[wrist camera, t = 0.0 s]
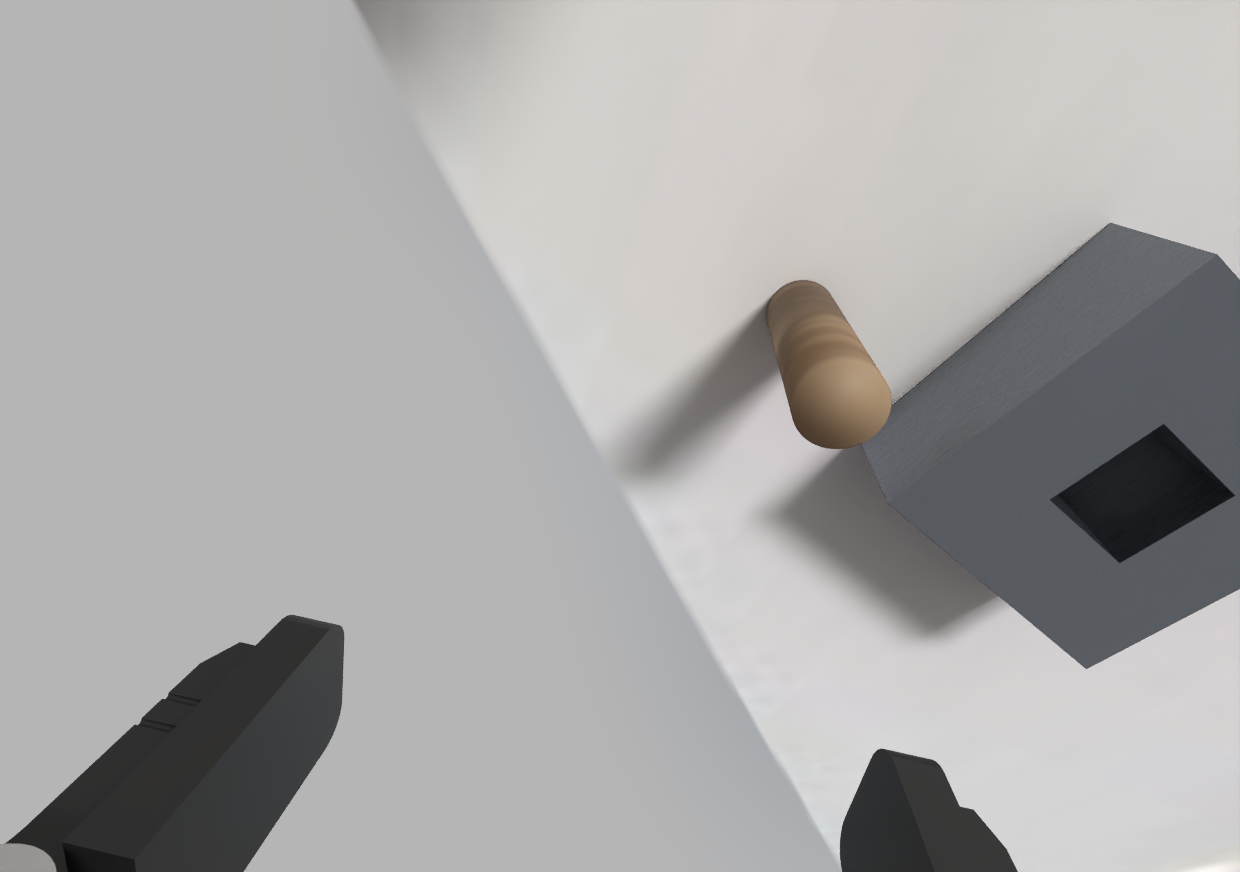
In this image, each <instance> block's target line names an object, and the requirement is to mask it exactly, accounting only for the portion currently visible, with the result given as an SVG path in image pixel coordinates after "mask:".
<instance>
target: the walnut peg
mask: <svg viewBox="0 0 1240 872" xmlns="http://www.w3.org/2000/svg"><path fill="white" fill-rule="evenodd" d="M766 319H767V324H768V328H769V332H770V335H771V339H772V343H773V347H774V350H775V354H776V358H777V362H778V365H779V369H780V373H781V377H782V381H783V384H784V388H785V392H786V396H787V399H788V403H789V407H790V411H791V414H792V418H793V421H794V424H795V426H796V428H797V430H798V431H799V432H800V434H801V435H802V436H803V437H804V438H805V439H807V440H808V441H809V442H811V443H813V444H815V445H818V446H820V447H824V448H830V449H844V448H849V447H853V446H856V445H859V444H861V443H864V442H865V441H867V440H869V439H870V438H872V437H873V436H874V435H875V434H876V433H877V432H879V430H880V429H881V428H882V427H883V425H884V424H885V422H886V421H887V419H888V417H889V414H890V411H891V405H892V398H891V392H890V389H889V386H888V384H887V382H886V381H885V379H884V378H883V376H882V375H881V373H880V371H879V370H878V368H877V367H876V365H875V364H874V362H873V360H872V359H871V357H870V356H869V354H868V353H867V351H866V349H865V348H864V346H863V345H862V343H861V342H860V340H859V338H858V337H857V335H856V334H855V332H854V331H853V329H852V327H851V326H850V324H849V323H848V321H847V320H846V318H845V316H844V315H843V313H842V312H841V310H840V309H839V307H838V305H837V304H836V302H835V301H834V299H833V298H832V296H831V294H830V293H829V292H828V290H827V289H826V288H824V287H823V286H822V285H820V284H818V283H816V282H813V281H808V280H799V281H794V282H791V283H788V284H786V285H785V286H783V287H782V288H780V289H779V290H778V291H777V292H776V293H775V294H774V295H773V297H772V298H771V300H770V302H769V304H768V307H767V312H766Z"/></svg>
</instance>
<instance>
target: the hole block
mask: <svg viewBox="0 0 1240 872" xmlns="http://www.w3.org/2000/svg"><path fill="white" fill-rule="evenodd" d="M861 445H862V447H863V449H864V451H865V454H866V456H867V458H868V460H869V463H870V465H871V467H872V469H873V472H874V474H875V476H876V478H877V481H878V483H879V485H880V487H881V489H882V492H883V494H884V496H885V498H886V501H887V503H888V504H889V505H890V506H891V507H893V508H894V509H895V510H896V511H897V512H899V513H900V514H901V515H902V516H903V517H905V518H906V519H907V520H908V521H909V522H911V523H912V524H913V525H914V526H915V527H917V528H918V529H919V530H920V531H921V532H923V533H924V534H925V535H926V536H927V537H929V538H930V539H931V540H932V541H933V542H935V543H936V544H937V545H938V546H939V547H941V548H942V549H943V550H944V551H945V552H947V553H948V554H949V555H950V556H951V557H953V558H954V559H955V560H956V561H957V562H959V563H960V564H961V565H962V566H963V567H965V568H966V569H967V570H968V571H969V572H971V573H972V574H973V575H974V576H975V577H976V578H978V579H979V580H980V581H981V582H982V583H984V584H985V585H986V586H987V587H988V588H990V589H991V590H992V591H993V592H994V593H996V594H997V595H998V596H999V597H1000V598H1002V599H1003V600H1004V601H1005V602H1006V603H1008V604H1009V605H1010V606H1011V607H1012V608H1014V609H1015V610H1016V611H1017V612H1018V613H1020V614H1021V615H1022V616H1023V617H1024V618H1026V619H1027V620H1028V621H1029V622H1030V623H1032V624H1033V625H1034V626H1035V627H1036V628H1038V629H1039V630H1040V631H1041V632H1042V633H1044V634H1045V635H1046V636H1047V637H1048V638H1050V639H1051V640H1052V641H1053V642H1054V643H1056V644H1057V645H1058V646H1059V647H1060V648H1062V649H1063V650H1064V651H1065V652H1066V653H1068V654H1069V655H1070V656H1071V657H1072V658H1074V659H1075V660H1076V661H1077V662H1078V663H1080V664H1081V665H1082V666H1083V667H1084V668H1086V669H1088V668H1089V667H1091V666H1093V665H1095V664H1097V663H1099V662H1101V661H1103V660H1105V659H1107V658H1109V657H1110V656H1112V655H1114V654H1116V653H1118V652H1120V651H1122V650H1124V649H1126V648H1128V647H1130V646H1132V645H1133V644H1135V643H1137V642H1139V641H1141V640H1143V639H1145V638H1147V637H1149V636H1151V635H1153V634H1154V633H1156V632H1158V631H1160V630H1162V629H1164V628H1166V627H1168V626H1170V625H1172V624H1174V623H1175V622H1177V621H1179V620H1181V619H1183V618H1185V617H1187V616H1189V615H1191V614H1193V613H1195V612H1197V611H1198V610H1200V609H1202V608H1204V607H1206V606H1208V605H1210V604H1212V603H1214V602H1216V601H1218V600H1219V599H1221V598H1223V597H1225V596H1227V595H1229V594H1231V593H1233V592H1235V591H1237V590H1239V589H1240V280H1239V278H1238V277H1237V276H1236V275H1235V274H1234V273H1233V272H1232V271H1231V269H1230V268H1229V267H1228V266H1227V265H1226V264H1225V263H1224V262H1223V260H1222V259H1221V258H1220V257H1219V256H1218V255H1217V254H1214V253H1211V252H1207V251H1204V250H1200V249H1197V248H1194V247H1190V246H1187V245H1184V244H1180V243H1177V242H1174V241H1170V240H1167V239H1163V238H1160V237H1157V236H1153V235H1150V234H1147V233H1143V232H1140V231H1136V230H1133V229H1130V228H1126V227H1123V226H1120V225H1116V224H1113V223H1110V224H1109V225H1108V226H1107V227H1105V228H1104V229H1103V230H1102V231H1101V232H1099V233H1098V234H1097V235H1096V236H1095V237H1093V238H1092V239H1091V240H1090V241H1089V242H1087V243H1086V244H1085V245H1084V246H1083V247H1082V248H1080V249H1079V250H1078V251H1077V252H1076V253H1074V254H1073V255H1072V256H1071V257H1070V258H1068V259H1067V260H1066V261H1065V262H1064V263H1062V264H1061V265H1060V266H1059V267H1058V268H1056V269H1055V270H1054V271H1053V272H1052V273H1050V274H1049V275H1048V276H1047V277H1046V278H1044V279H1043V280H1042V281H1041V282H1040V283H1038V284H1037V285H1036V286H1035V287H1034V288H1033V289H1031V290H1030V291H1029V292H1028V293H1027V294H1025V295H1024V296H1023V297H1022V298H1021V299H1019V300H1018V301H1017V302H1016V303H1015V304H1013V305H1012V306H1011V307H1010V308H1009V309H1007V310H1006V311H1005V312H1004V313H1003V314H1001V315H1000V316H999V317H998V318H997V319H995V320H994V321H993V322H992V323H991V324H989V325H988V326H987V327H986V328H985V329H984V330H982V331H981V332H980V333H979V334H978V335H976V336H975V337H974V338H973V339H972V340H970V341H969V342H968V343H967V344H966V345H964V346H963V347H962V348H961V349H960V350H958V351H957V352H956V353H955V354H954V355H952V356H951V357H950V358H949V359H948V360H946V361H945V362H944V363H943V364H942V365H940V366H939V367H938V368H937V369H936V370H935V371H933V372H932V373H931V374H930V375H929V376H927V377H926V378H925V379H924V380H923V381H921V382H920V383H919V384H918V385H917V386H915V387H914V388H913V389H912V390H911V391H909V392H908V393H907V394H906V395H905V396H903V397H902V398H901V399H900V400H899V401H897V402H896V403H895V404H894V405H893V406H891V411H890V414H889V417H888V419H887V421H886V422H885V424H884V425H883V427H882V428H881V429H880V430H879V432H877V433H876V434H875V435H874V436H873V437H872V438H870V439H869V440H867V441H865V442H864V443H861Z"/></svg>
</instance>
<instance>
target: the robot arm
mask: <svg viewBox="0 0 1240 872" xmlns="http://www.w3.org/2000/svg"><path fill="white" fill-rule="evenodd" d="M343 656H344V631H343V628H342V627H341V626H339V625H336V624H331V623H327V622H322V621H317V620H313V619H309V618H304V617H300V616H295V615H289V616H286V617H285V618H283V619H282V620H281V621H280V622H279V623H278V624H277V625H276V626H275V627H274V628H273V629H272V630H271V631H270V632H269V633H268V634H267V635H266V636H265V637H264V638H263V639H262V640H261V641H260V642H259V643H258V644H257V645H256V646H254V645H250V644H246V643H238V644H236V645H234V646H232V647H231V648H228V649H226V650H225V651H223V652H221V653H219V654H217V655H215V656H213V657H211V658H210V659H208V660H206V661H204V662H203V663H200V664H199V665H198V666H197V667H196V668H195V669H194V670H193V671H192V672H191V673H189V674H188V675H187V676H186V677H185V678H184V679H183V680H182V681H181V682H180V683H179V684H178V685H177V686H176V687H175V688H173V689H172V690H171V691H170V692H169V694H168V697H167V698H166V699H162V700H161V701H160V702H159V703H157V704H156V705H155V706H154V707H153V708H152V709H151V710H150V711H149V712H148V713H147V714H146V715H145V716H144V717H142V720H141V722H140V724H139V725H134V726H133V727H132V728H131V729H130V730H129V731H127V732H126V734H124V735H123V736H122V737H121V738H120V739H119V740H118V741H117V742H116V743H115V744H114V745H112V746H111V747H110V748H109V749H108V750H107V751H106V752H105V753H104V754H103V755H102V756H101V757H100V758H99V759H97V760H96V761H95V762H94V763H93V764H92V765H91V766H90V767H89V768H88V769H87V770H86V771H85V772H84V773H82V774H81V775H80V776H79V777H78V778H77V779H76V780H75V781H74V782H73V783H72V784H71V785H70V786H69V787H68V788H66V789H65V790H64V791H63V792H62V793H61V794H60V795H59V796H58V797H57V798H56V799H55V800H54V801H53V802H51V804H49V805H48V806H47V807H46V808H45V809H44V810H43V811H42V812H41V813H40V814H39V815H38V816H37V817H35V818H34V819H33V820H32V821H31V822H30V823H29V824H28V825H27V826H26V827H25V828H24V829H22V830H21V831H20V832H19V833H18V834H17V835H15V836H14V837H13V838H12V839H10V840H9V841H8V842H6V843H5V844H0V872H243V871H244V870H245V869H246V867H247V865H248V864H249V863H250V861H251V859H252V858H253V857H254V855H255V854H256V852H257V851H258V849H259V848H260V846H261V845H262V843H263V842H264V840H265V839H266V837H267V836H268V834H269V833H270V831H271V830H272V828H273V827H274V825H275V823H276V822H277V821H278V819H279V818H280V816H281V815H282V813H283V812H284V810H285V809H286V807H287V805H288V804H289V803H290V801H291V800H292V798H293V797H294V795H295V794H296V792H297V791H298V789H299V788H300V786H301V785H302V783H303V781H304V780H305V779H306V777H307V776H308V774H309V773H310V771H311V770H312V768H313V767H314V765H315V764H316V762H317V761H318V759H319V758H320V756H321V755H322V753H323V752H324V750H325V749H326V747H327V745H328V743H329V742H330V739H331V738H332V735H333V733H334V731H335V728H336V725H337V722H338V719H339V716H340V711H341V705H342V684H343ZM840 860H841V867H842V872H1018V871H1017V869H1016V867H1015V865H1014V863H1013V861H1012V859H1011V857H1010V855H1009V853H1008V851H1007V849H1006V848H1005V847H1004V846H1003V844H1002V843H1001V842H1000V841H999V840H998V838H997V837H996V836H995V835H994V834H993V832H992V831H991V830H990V829H989V828H988V827H987V825H986V824H985V823H984V822H983V821H982V819H981V818H980V817H979V816H978V815H977V813H976V812H975V811H974V810H972V809H968V808H963V807H960V806H959V804H958V802H957V800H956V798H955V795H954V793H953V791H952V789H951V787H950V784H949V782H948V780H947V778H946V776H945V773H944V772H943V770H942V768H941V767H940V765H939V764H938V763H937V762H936V761H934V760H931V759H926V758H922V757H917V756H913V755H908V754H904V753H899V752H895V751H890V750H886V749H879V750H877V751H876V752H875V753H874V754H873V756H872V758H871V760H870V762H869V765H868V767H867V769H866V772H865V774H864V776H863V778H862V781H861V783H860V785H859V787H858V790H857V792H856V794H855V796H854V799H853V801H852V803H851V805H850V808H849V810H848V812H847V814H846V817H845V819H844V822H843V826H842V831H841V838H840Z"/></svg>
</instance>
